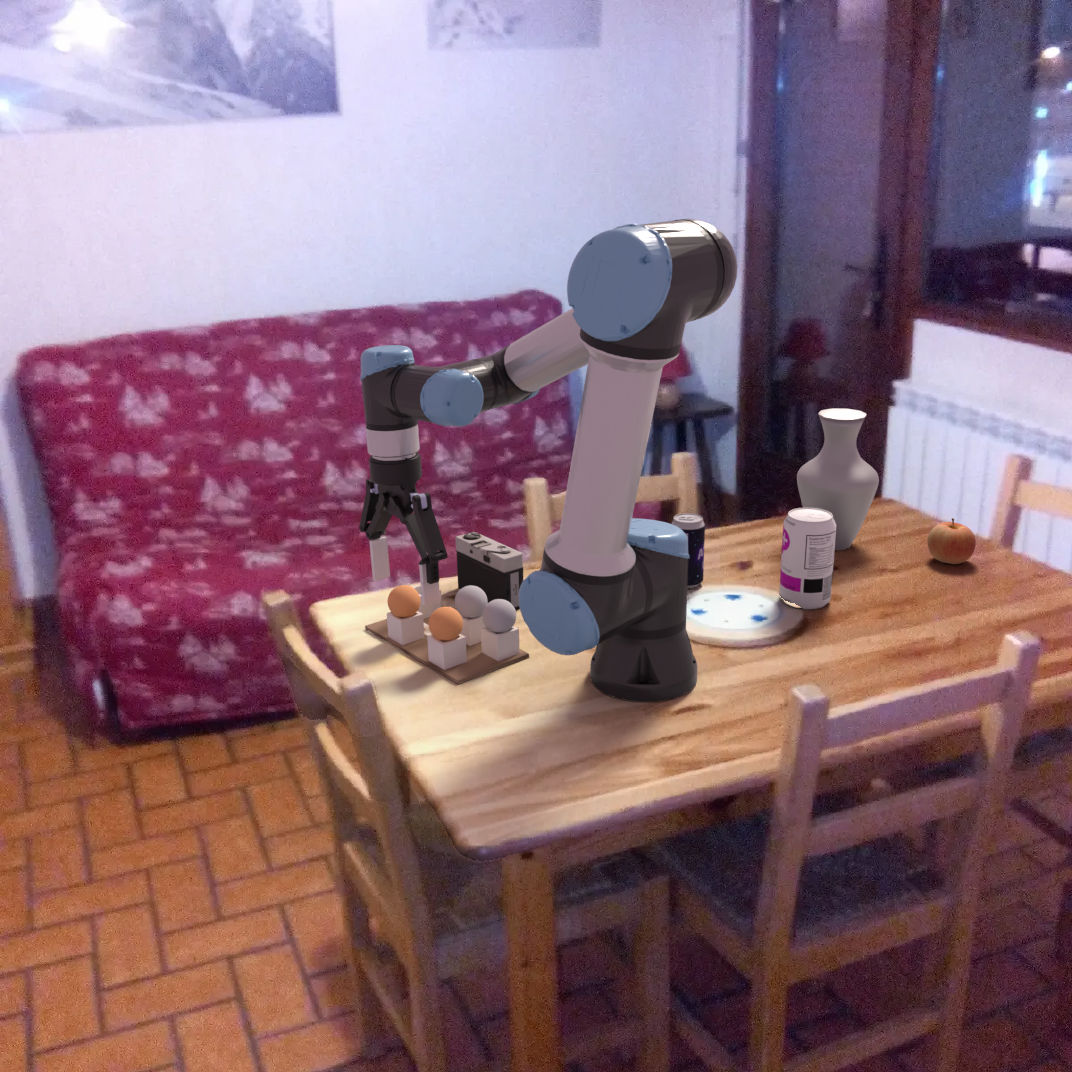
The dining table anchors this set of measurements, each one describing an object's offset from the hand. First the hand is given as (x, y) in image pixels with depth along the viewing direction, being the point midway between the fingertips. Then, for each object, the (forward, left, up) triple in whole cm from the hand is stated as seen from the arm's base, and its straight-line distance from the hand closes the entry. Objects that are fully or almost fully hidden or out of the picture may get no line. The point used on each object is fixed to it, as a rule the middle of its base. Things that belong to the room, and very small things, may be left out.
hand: (405, 590), depth 170 cm
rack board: (-4, -4, -9) cm, 10 cm away
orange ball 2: (-10, 0, -5) cm, 11 cm away
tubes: (-4, -4, -9) cm, 10 cm away
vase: (-17, -82, -9) cm, 85 cm away
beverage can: (-12, -48, -9) cm, 51 cm away
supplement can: (-30, -57, -9) cm, 66 cm away
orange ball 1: (0, 0, -5) cm, 5 cm away
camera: (+5, -22, -9) cm, 24 cm away
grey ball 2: (-13, -7, -5) cm, 16 cm away
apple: (-36, -90, -9) cm, 98 cm away
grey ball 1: (-6, -7, -5) cm, 11 cm away
